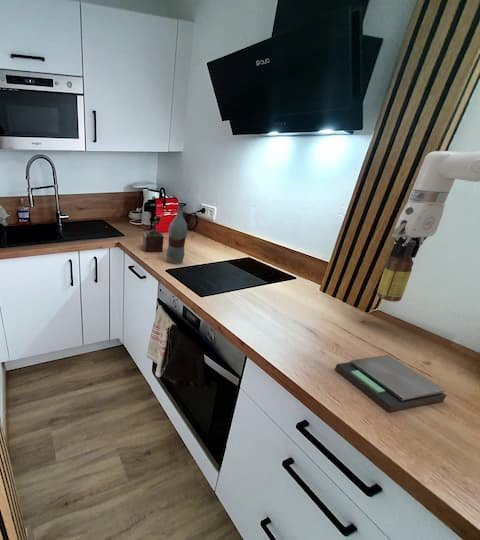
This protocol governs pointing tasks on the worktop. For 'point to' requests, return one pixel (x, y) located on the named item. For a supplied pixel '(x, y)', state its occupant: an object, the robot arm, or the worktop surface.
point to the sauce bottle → (396, 275)
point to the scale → (382, 390)
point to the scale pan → (396, 377)
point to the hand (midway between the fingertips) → (402, 256)
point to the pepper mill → (153, 239)
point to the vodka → (177, 238)
